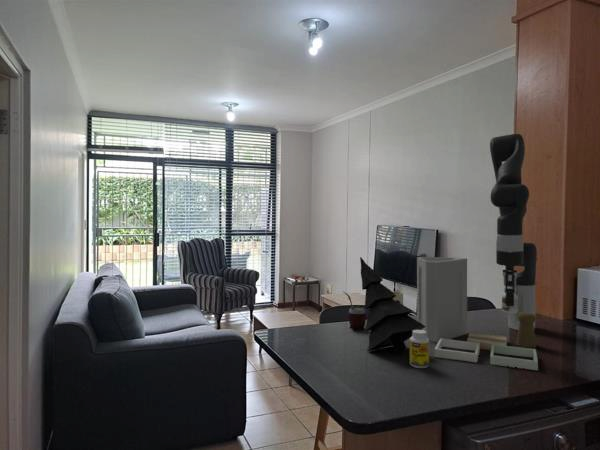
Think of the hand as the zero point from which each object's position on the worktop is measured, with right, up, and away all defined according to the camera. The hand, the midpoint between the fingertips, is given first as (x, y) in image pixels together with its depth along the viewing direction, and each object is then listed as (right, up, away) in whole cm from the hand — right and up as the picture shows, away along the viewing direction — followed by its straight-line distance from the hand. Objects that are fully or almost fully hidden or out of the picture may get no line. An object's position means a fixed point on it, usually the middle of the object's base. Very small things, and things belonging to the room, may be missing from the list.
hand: (509, 303), depth 134 cm
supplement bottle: (-30, -17, -6) cm, 35 cm away
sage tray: (0, -17, -3) cm, 17 cm away
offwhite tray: (-15, -17, +4) cm, 23 cm away
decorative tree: (-37, -17, +11) cm, 42 cm away
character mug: (-27, -16, +40) cm, 51 cm away
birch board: (-1, -16, +13) cm, 21 cm away
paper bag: (-14, -16, +27) cm, 35 cm away
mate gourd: (-43, -16, +35) cm, 58 cm away
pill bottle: (0, -3, 0) cm, 3 cm away
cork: (+12, -16, +13) cm, 24 cm away
